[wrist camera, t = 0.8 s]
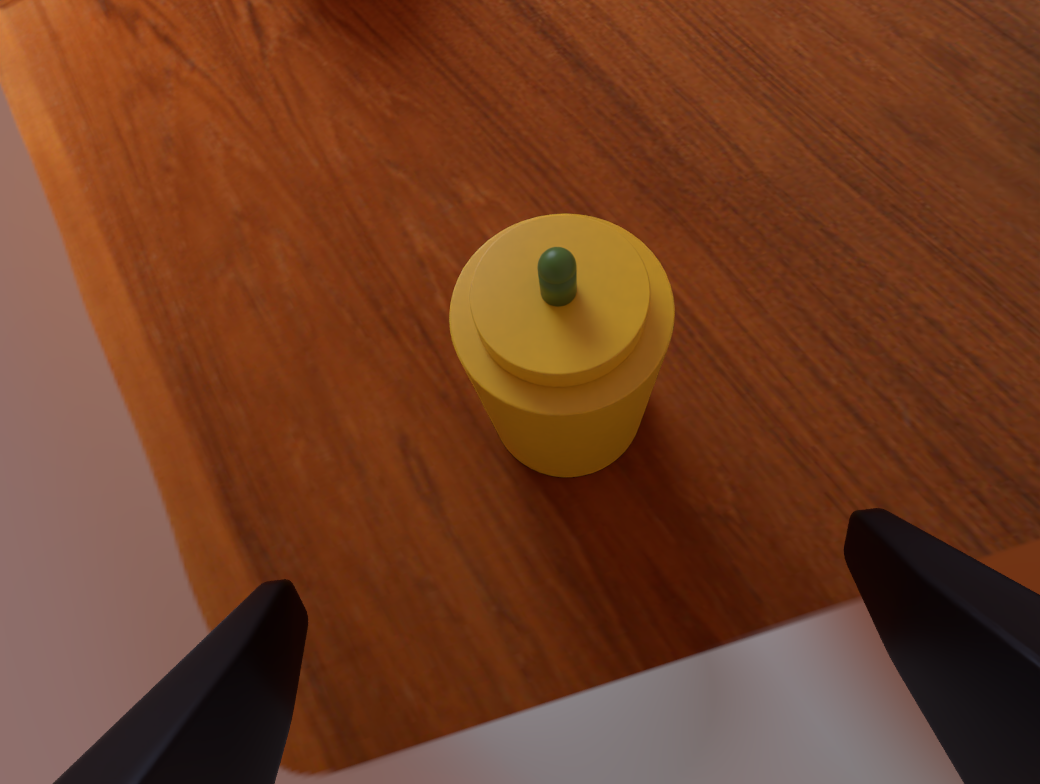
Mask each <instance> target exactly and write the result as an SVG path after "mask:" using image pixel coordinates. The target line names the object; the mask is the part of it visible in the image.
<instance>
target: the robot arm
mask: <svg viewBox="0 0 1040 784" xmlns="http://www.w3.org/2000/svg"><path fill="white" fill-rule="evenodd" d="M844 556H845V560H846V563H847V566H848V568H849V570H850V572H851V574H852V577H853V579H854V581H855V583H856V585H857V588H858V590H859V592H860V594H861V596H862V598H863V601H864V603H865V605H866V607H867V609H868V611H869V613H870V616H871V618H872V620H873V622H874V624H875V627H876V629H877V631H878V633H879V635H880V638H881V640H882V642H883V643H884V646H885V648H886V650H887V652H888V654H889V656H890V658H891V660H892V662H893V663H894V665H895V667H896V669H897V670H898V672H899V674H900V676H901V677H902V679H903V681H904V682H905V684H906V686H907V687H908V689H909V691H910V693H911V694H912V696H913V698H914V699H915V701H916V702H917V704H918V706H919V708H920V710H921V711H922V713H923V714H924V716H925V718H926V719H927V721H928V723H929V725H930V726H931V728H932V730H933V731H934V733H935V735H936V736H937V738H938V740H939V742H940V743H941V745H942V747H943V748H944V750H945V752H946V753H947V755H948V757H949V759H950V760H951V762H952V764H953V765H954V767H955V769H956V770H957V772H958V774H959V775H960V777H961V779H962V781H963V782H964V784H1040V595H1039V594H1037V593H1035V592H1033V591H1031V590H1030V589H1028V588H1026V587H1025V586H1022V585H1021V584H1019V583H1017V582H1015V581H1014V580H1012V579H1010V578H1008V577H1006V576H1005V575H1002V574H1001V573H999V572H997V571H995V570H994V569H992V568H990V567H988V566H986V565H985V564H983V563H981V562H979V561H977V560H976V559H974V558H972V557H970V556H968V555H966V554H965V553H963V552H961V551H959V550H957V549H956V548H954V547H952V546H950V545H948V544H947V543H945V542H943V541H941V540H939V539H937V538H936V537H934V536H932V535H930V534H928V533H927V532H925V531H923V530H921V529H919V528H917V527H916V526H914V525H912V524H910V523H908V522H907V521H905V520H903V519H901V518H899V517H898V516H896V515H894V514H892V513H890V512H888V511H886V510H884V509H881V508H873V509H865V510H857V511H854V512H853V513H852V514H851V516H850V519H849V524H848V529H847V534H846V539H845V545H844ZM307 629H308V615H307V611H306V609H305V607H304V605H303V603H302V601H301V599H300V597H299V595H298V593H297V591H296V589H295V587H294V585H293V583H292V582H291V581H289V580H286V579H283V580H275V581H267V582H264V583H262V584H261V585H260V586H258V587H257V588H256V589H255V590H254V591H253V592H252V593H251V594H250V595H249V596H248V597H247V598H246V599H245V600H244V601H243V602H242V603H241V604H240V605H239V606H238V607H237V608H235V609H234V610H233V611H232V612H231V613H230V614H229V615H228V616H227V617H226V618H225V619H224V620H223V621H222V622H221V623H220V624H219V625H218V626H217V627H216V628H215V629H214V630H213V631H211V632H210V633H209V634H208V635H207V636H206V637H205V638H204V639H203V640H202V641H201V642H200V643H199V644H198V645H197V646H196V647H195V648H194V649H193V650H192V651H191V652H190V653H189V654H187V655H186V657H184V659H182V660H181V661H180V662H179V663H178V664H177V665H176V666H175V667H174V668H173V669H172V670H171V671H170V672H169V673H168V674H167V675H166V676H165V677H164V678H163V679H162V680H160V681H159V682H158V683H157V684H156V685H155V686H154V687H153V688H152V689H151V690H150V691H149V692H148V693H147V694H146V695H145V696H144V697H143V698H142V699H141V700H139V701H138V702H137V703H136V704H135V705H134V706H133V707H132V708H131V709H130V710H129V711H128V712H127V713H126V714H125V715H124V716H123V717H122V718H121V719H120V720H119V721H118V722H117V723H116V724H114V726H112V727H111V728H110V729H109V730H108V731H107V732H106V733H105V734H104V735H103V736H102V737H101V738H100V739H99V740H98V741H97V742H96V743H95V744H94V745H93V746H92V747H90V748H89V749H88V750H87V751H86V752H85V753H84V754H83V755H82V756H81V757H80V758H79V759H78V760H77V761H76V762H75V763H74V764H73V765H72V766H71V767H70V768H69V769H68V770H67V771H66V772H64V773H63V774H62V775H61V776H60V777H59V778H58V779H57V780H56V781H55V782H54V783H53V784H274V783H275V780H276V776H277V773H278V769H279V765H280V762H281V758H282V754H283V751H284V747H285V744H286V740H287V736H288V732H289V728H290V724H291V720H292V715H293V710H294V705H295V699H296V694H297V688H298V682H299V676H300V670H301V664H302V658H303V652H304V646H305V640H306V635H307Z"/></svg>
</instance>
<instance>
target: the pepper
mask: <svg viewBox="0 0 1040 784" xmlns="http://www.w3.org/2000/svg"><path fill="white" fill-rule="evenodd" d="M674 318H675V308H674V298H673V293H672V289H671V285H670V283H669V280H668V277H667V275H666V273H665V271H664V269H663V267H662V265H661V264H660V262H659V261H658V259H657V258H656V257H655V255H654V254H653V253H652V251H651V250H650V249H649V248H648V247H647V246H646V245H645V244H644V243H643V242H642V241H640V240H639V239H638V238H636V237H635V236H634V235H633V234H631V233H629V232H628V231H626V230H624V229H623V228H621V227H619V226H617V225H615V224H612V223H610V222H608V221H605V220H602V219H598V218H595V217H590V216H585V215H577V214H552V215H545V216H539V217H535V218H531V219H528V220H525V221H522V222H519V223H517V224H514V225H512V226H510V227H508V228H506V229H504V230H502V231H501V232H499V233H498V234H496V235H495V236H493V237H492V238H490V239H489V240H488V241H487V242H486V243H485V244H483V245H482V246H481V247H480V248H479V249H478V250H477V251H476V252H475V254H474V255H473V256H472V257H471V258H470V260H469V261H468V262H467V264H466V265H465V267H464V268H463V270H462V272H461V274H460V276H459V278H458V280H457V282H456V285H455V288H454V290H453V294H452V299H451V303H450V313H449V322H450V332H451V337H452V342H453V345H454V348H455V350H456V353H457V356H458V358H459V360H460V362H461V364H462V365H463V367H464V369H465V371H466V373H467V375H468V377H469V379H470V381H471V383H472V385H473V387H474V389H475V391H476V393H477V395H478V396H479V398H480V400H481V402H482V404H483V406H484V408H485V410H486V412H487V414H488V416H489V418H490V420H491V422H492V424H493V426H494V427H495V429H496V431H497V433H498V435H499V437H500V439H501V441H502V443H503V444H504V445H505V447H506V448H507V450H508V451H509V452H510V453H511V454H512V455H513V456H514V457H515V458H516V459H517V460H519V461H520V462H521V463H522V464H524V465H526V466H527V467H529V468H531V469H533V470H535V471H537V472H540V473H543V474H546V475H550V476H557V477H577V476H583V475H587V474H591V473H594V472H596V471H599V470H601V469H603V468H605V467H606V466H608V465H610V464H611V463H613V462H614V461H615V460H617V459H618V458H619V457H620V456H621V455H622V454H623V453H624V452H625V451H626V449H627V448H628V447H629V445H630V444H631V442H632V441H633V439H634V437H635V435H636V433H637V430H638V428H639V425H640V423H641V420H642V417H643V414H644V412H645V409H646V406H647V403H648V401H649V398H650V395H651V392H652V390H653V387H654V384H655V381H656V379H657V376H658V373H659V371H660V368H661V365H662V362H663V360H664V357H665V354H666V351H667V349H668V346H669V343H670V340H671V336H672V332H673V328H674Z"/></svg>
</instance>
